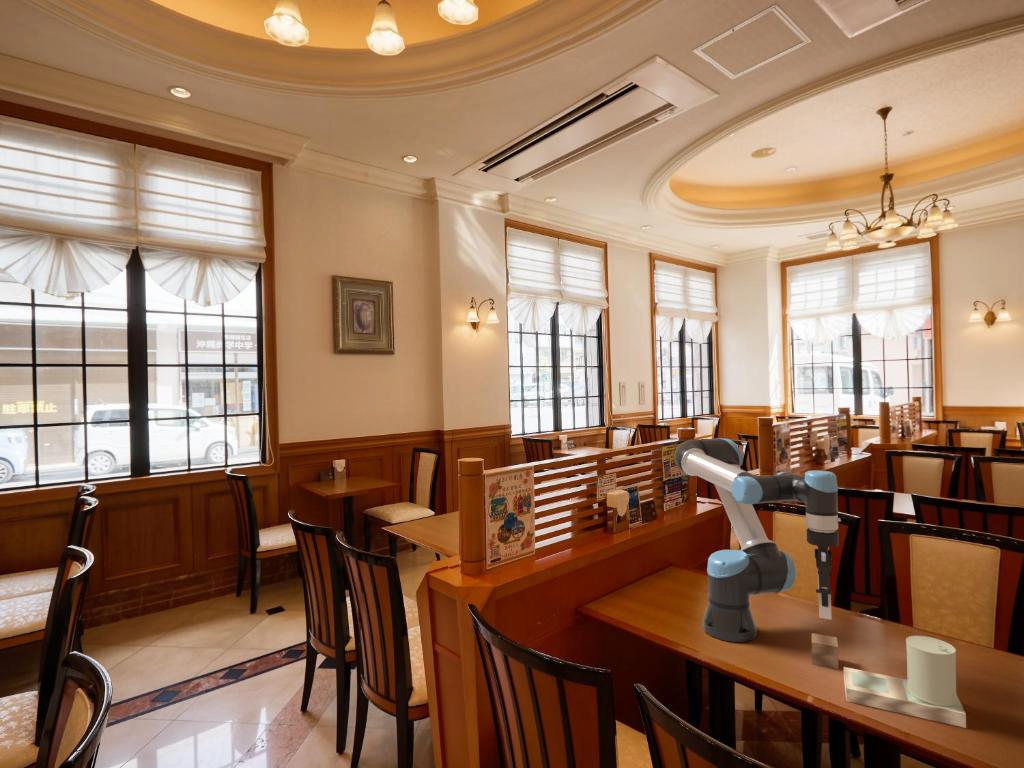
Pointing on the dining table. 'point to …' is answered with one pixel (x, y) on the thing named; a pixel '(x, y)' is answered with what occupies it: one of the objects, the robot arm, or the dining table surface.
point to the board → (896, 697)
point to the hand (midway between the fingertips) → (824, 608)
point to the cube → (824, 651)
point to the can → (931, 670)
